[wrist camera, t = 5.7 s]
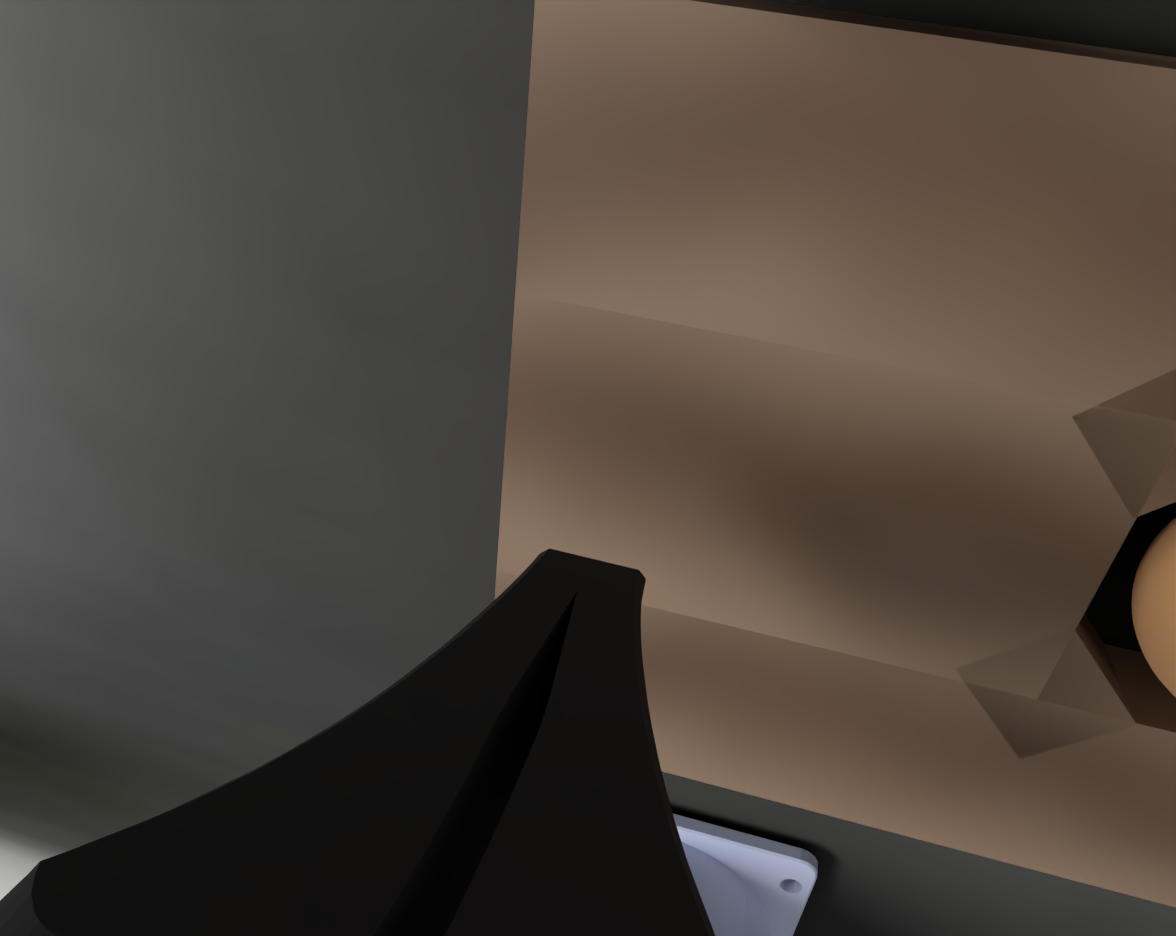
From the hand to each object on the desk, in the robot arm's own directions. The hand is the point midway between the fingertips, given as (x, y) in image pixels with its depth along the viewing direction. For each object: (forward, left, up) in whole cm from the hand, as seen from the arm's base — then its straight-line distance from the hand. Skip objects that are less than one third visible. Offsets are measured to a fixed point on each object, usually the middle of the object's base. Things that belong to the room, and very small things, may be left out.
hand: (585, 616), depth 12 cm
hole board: (0, -6, -6) cm, 8 cm away
